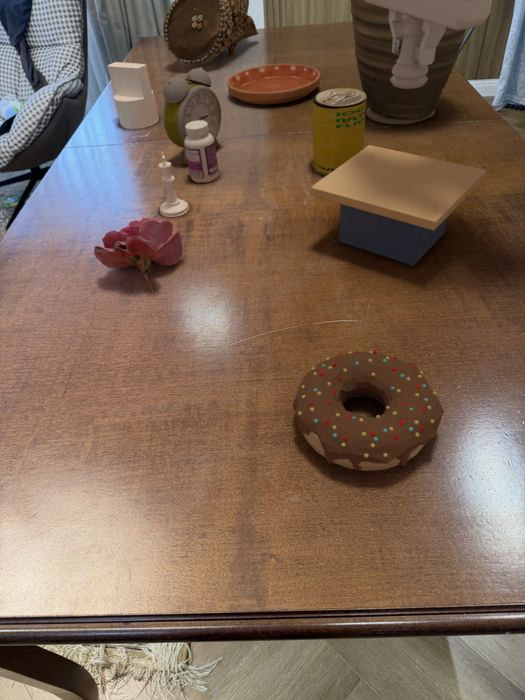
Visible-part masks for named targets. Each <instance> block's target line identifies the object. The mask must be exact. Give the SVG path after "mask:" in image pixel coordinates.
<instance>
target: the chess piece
mask: <svg viewBox="0 0 525 700" xmlns="http://www.w3.org/2000/svg"><path fill="white" fill-rule="evenodd" d="M160 156H161V159H162V162H160V163H159V164H158V168H159V169H160V171H161V173H162V175H163V176H162V177H161V182H163V183H165V188H166V197H167V198H166V201H165V202H163V203H162V204H161V205H160V207H159V212H160V214H161V216H163V217H166V218H176V217H180V216H183V215H185V214H186V213H188V212H189V209H190V206H189V203H188V202H187V201H186V200H185V199H180V198H178V196H177V193H176V191H175V188H174V185H173V181H174V180H175V179H176V178H175V176H174V175H172V174H171V173H172V171H171V170H172V163H171V162H170V161H167V160H166V159H167V158H166V155H165V152H164V150H163V151H160Z"/></svg>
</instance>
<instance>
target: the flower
mask: <svg viewBox="0 0 525 700" xmlns="http://www.w3.org/2000/svg"><path fill="white" fill-rule="evenodd" d="M173 227H174V223H173V222H172V221H170V220H169V219H166V218H165V219H160V218H157V217H149V218H148V217H142V219H140V220H137V219H135V220H131V221H129V222H128V225H127V226H125V227H123V228H121V229H120V230H119V231H117V230H114V229H113V230H109V231H108V232H106V233H105V235H104V236H103V237H102V238H101V239H102V243H103V247H102V246H100V245H95V246H94V249H93V254H94V256H95V258H96V259H97V260H98V261H99V262H100V263H101V264H103V266H104V267H106V268H109V269H115V270H116V269H122V268H125V267H130V266H134V267H137V269H139V270H140V272H141V275H142V276H143V277H144V279H145V280H146V282H147V283H148V285H149V288H150V289H151V291H152V292H154V290H153V287H152V286H151V284H150V282H149V281H148V276H150V275H149V272H150V269H151V264H152V261H154V262H155V263H156V264H158V265H162V266H165V267H166V266H167V267H168V266H173V265H176V264H177V263H178V262H179V261H180V260H181V258H182V256H183V250H184V246H183V240H182V236H181V234H180V232H179V231H176V232H174V233H173V230H174V229H173ZM147 275H148V276H147Z"/></svg>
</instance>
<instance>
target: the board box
mask: <svg viewBox="0 0 525 700" xmlns="http://www.w3.org/2000/svg"><path fill="white" fill-rule="evenodd" d="M486 174H487V169H484V168H479V167H476V166H475V167H474V166H470V165H465V164H462V163H461V164H459V163H455V162H452V161H447V160H441V159H437V158H432V157H429V156H423V155H419V154H414V153H410V152H404V151H399V150H395V149H390V148H385V147H380V146H376V145H372V144H368V145H367V146H366V147H363V150H362V151H360V152H359V153H358V154H356V155H355V156H353V157H352V158H351V159H349V160H348V161H346V162H345V163H344V164H342V165H341V166H340V167H338V168H337V169H335V170H334V171H333V172H331V173H330V174H328V175H325V176H324V177H323V178H322V179H320V180H319V181H317V182H316V183H314V184H313V185H312V186H310V196H312V197H316V198H319V199H322V200H326V201H329V202H333V203H335V204H339V207H340V209H339V235H338V242H340V243H342V244H345V245H349V246H351V247H354V248H358V249H361V250H364V251H367V252H370V253H372V254H376V255H379V256H382V257H385V258H388V259H391V260H394V261H398V262H400V263H403V264H406V265H409V266H413V267H414V266H415V265H416V264H417V263H418V262H419V261H420V260H421V259H422V257H424V256H425V254H427V252H429V250H431V248H432V247H433V246H434V245H435V244H436V242H438V240H439V239H440V238H441V237H442V236H443V235H445V231H446V227H447V221H448V217H449V216H450V215H451V214H452V213H453V212H454V211H455V209H457V208H458V207H459V206H460V204H461V203H462V202H463V201H464V200H465V199H466V198H467V197H468V196H469V195H470V194H471V193H472V192H473V191H474V190H475V189H476V188H477V187H478V186H479V185H480V183H481V182H483V180H484V179H485V177H486Z"/></svg>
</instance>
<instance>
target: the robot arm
mask: <svg viewBox="0 0 525 700" xmlns="http://www.w3.org/2000/svg"><path fill="white" fill-rule="evenodd" d="M364 1H365V2H367V3H370V4H373V5H377V6H380V7H383V8H386V9H389V24H390V28H391V33H392V37H393V44H392V53H394V54H396V55H399V56H400V52H401V47H402V43H403V33H402V31H403V30H404V27H405V23H404V21H403V19H402V15H403V14H406V15H409V16H412V17H415V18H419V19H422V20H423V28H422V30H423V31H424V32H425V34H424V37H423V39H422V42H421V44H420V45H419V46H415V56H414V62H415V63H417V64H420V65H422V66H424V65H429V64H432V63H433V61H434V57H435V50H436V46H437V45H438V43H439V41H440V40H441V38H442V36H443V34H444V33H445V31H446V27H448V28H451V29H454V30H462V29H466V30H467V29H471V28H472V29H473V28H477V27H481V26H482V25H483V24H484V23H485V22H486V21H487V19H488V17H489V16H490V14H491V11H492V6H493V1H494V0H364Z"/></svg>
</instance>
